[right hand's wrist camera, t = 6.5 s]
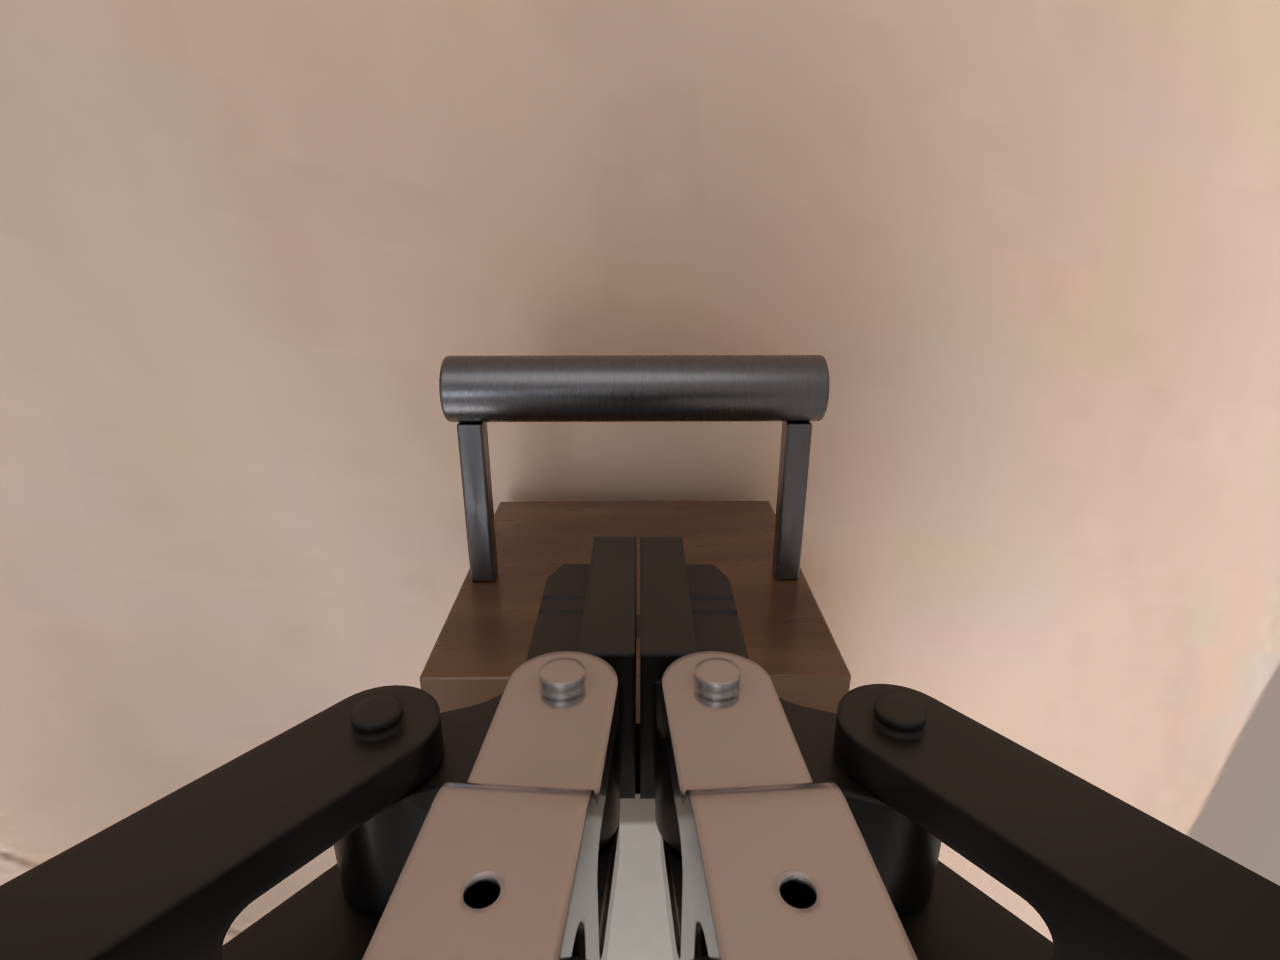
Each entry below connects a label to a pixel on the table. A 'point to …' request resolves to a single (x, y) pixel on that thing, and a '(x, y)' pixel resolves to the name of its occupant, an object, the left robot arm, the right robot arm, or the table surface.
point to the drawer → (633, 512)
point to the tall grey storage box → (639, 888)
